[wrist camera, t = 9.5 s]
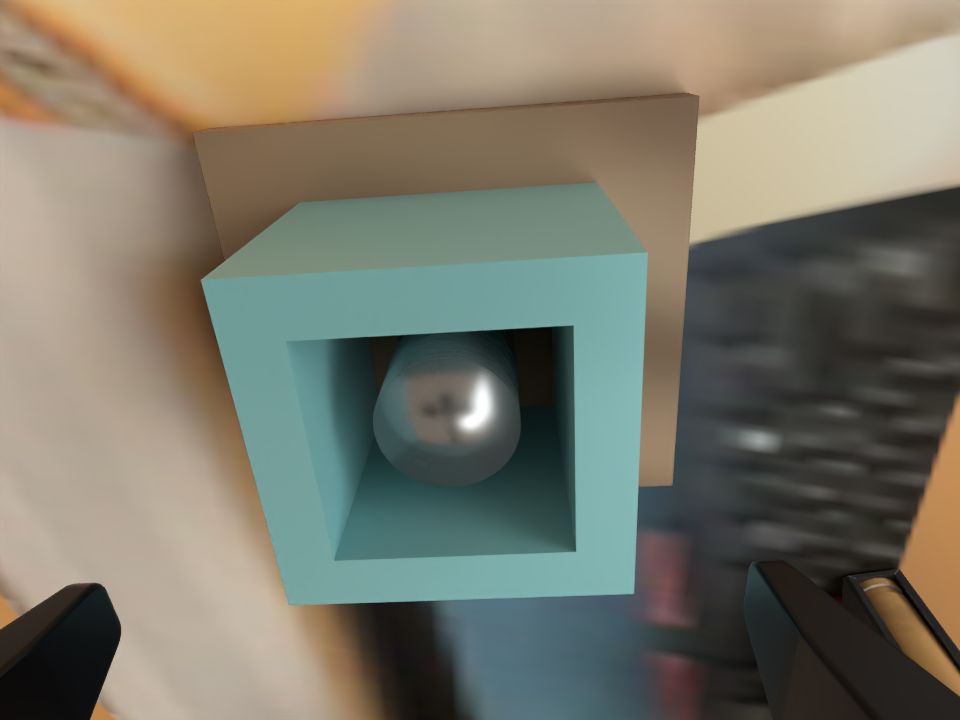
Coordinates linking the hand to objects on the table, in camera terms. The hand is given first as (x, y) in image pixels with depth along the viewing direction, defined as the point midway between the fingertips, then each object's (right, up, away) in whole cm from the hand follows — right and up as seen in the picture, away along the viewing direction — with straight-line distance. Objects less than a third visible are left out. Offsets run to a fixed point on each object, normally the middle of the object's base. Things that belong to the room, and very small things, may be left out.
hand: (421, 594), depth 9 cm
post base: (0, +5, +10) cm, 11 cm away
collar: (0, +4, +9) cm, 10 cm away
